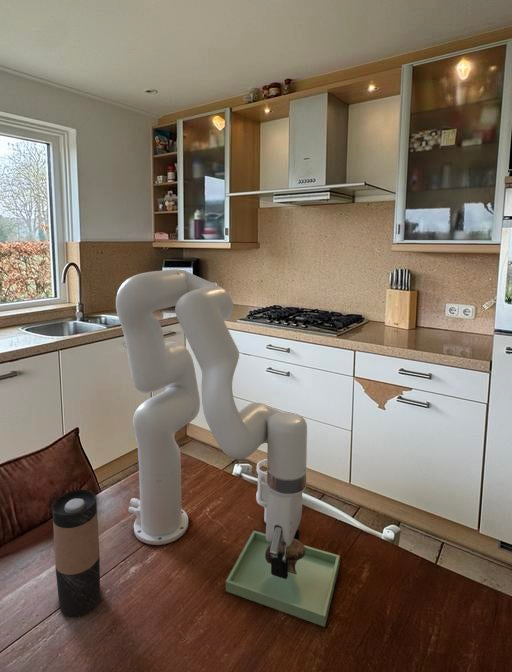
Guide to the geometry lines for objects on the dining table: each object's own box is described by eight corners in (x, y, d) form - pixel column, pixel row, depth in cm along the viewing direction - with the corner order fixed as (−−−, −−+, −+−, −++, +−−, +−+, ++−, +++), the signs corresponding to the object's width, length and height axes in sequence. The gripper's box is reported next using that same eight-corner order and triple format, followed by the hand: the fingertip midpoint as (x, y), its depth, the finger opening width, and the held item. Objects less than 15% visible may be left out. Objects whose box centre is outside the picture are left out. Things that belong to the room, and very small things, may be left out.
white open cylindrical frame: (266, 534, 97) (267, 473, 95) (250, 516, 103) (251, 458, 101) (291, 524, 100) (292, 464, 98) (274, 507, 106) (275, 451, 104)
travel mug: (109, 589, 82) (105, 493, 79) (82, 623, 74) (77, 519, 72) (77, 578, 84) (72, 485, 81) (48, 611, 77) (41, 510, 74)
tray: (225, 591, 81) (225, 581, 81) (253, 538, 95) (253, 530, 95) (325, 627, 74) (325, 616, 74) (339, 564, 88) (339, 555, 88)
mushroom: (304, 575, 78) (295, 537, 81) (265, 583, 80) (257, 546, 82) (314, 567, 85) (305, 531, 87) (277, 574, 86) (269, 540, 89)
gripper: (281, 452, 91) (280, 527, 93) (252, 499, 75) (252, 588, 78) (315, 459, 88) (314, 537, 91) (293, 509, 72) (291, 601, 75)
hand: (285, 560), depth 84 cm, fingers closed on mushroom, 7 cm apart
